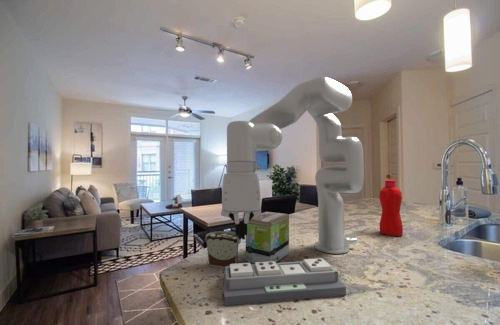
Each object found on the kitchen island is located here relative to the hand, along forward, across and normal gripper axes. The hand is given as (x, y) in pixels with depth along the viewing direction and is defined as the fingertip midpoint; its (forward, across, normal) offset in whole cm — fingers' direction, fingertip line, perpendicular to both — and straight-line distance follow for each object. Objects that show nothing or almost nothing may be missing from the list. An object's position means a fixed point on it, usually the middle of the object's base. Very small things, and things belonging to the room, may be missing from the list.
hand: (241, 237), depth 63 cm
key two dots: (+10, 0, 0) cm, 10 cm away
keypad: (+13, -10, 0) cm, 17 cm away
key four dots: (+10, -7, 0) cm, 12 cm away
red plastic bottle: (+13, -75, -40) cm, 86 cm away
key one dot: (+11, -14, 0) cm, 18 cm away
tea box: (+13, -12, -20) cm, 27 cm away
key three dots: (+10, -21, 0) cm, 23 cm away
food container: (+14, +4, -17) cm, 22 cm away
